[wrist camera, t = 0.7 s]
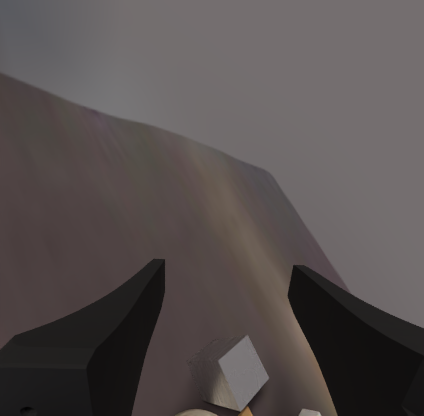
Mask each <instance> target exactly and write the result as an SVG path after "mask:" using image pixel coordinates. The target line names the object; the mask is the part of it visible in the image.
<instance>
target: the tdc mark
mask: <svg viewBox="0 0 424 416" xmlns="http://www.w3.org/2000/svg"><path fill="white" fill-rule="evenodd" d="M238 416H252V413H251V411H250V409H249V407H248V406H246V407H245V408H244V409H243V410H242V411H241V413H240V414H239V415H238Z"/></svg>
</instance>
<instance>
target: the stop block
mask: <svg viewBox="0 0 424 416" xmlns="http://www.w3.org/2000/svg"><path fill="white" fill-rule="evenodd" d="M187 363H188V366H189V368H190V371H191V373H192V376H193V378H194V380H195V383H196V385H197V388H198V390H199V393H200V395H201V398H202V400H203V401H206V402H209V403H212V404H216V405H219V406H223V407H226V408H230V409H233V410H237V411H240V412H241V411H242V410H243V409H244V407H245V406H246V405H247V404H248V403H249V401H250V400H251V399H252V398H253V397H254V395H255V394H256V393H257V392H258V391H259V390H260V388H261V387H262V386H263V385H264V384H265V382H266V381H267V380H268V379H269V377H268V375H267V373H266V371H265V369H264V367H263V365H262V363H261V361H260V359H259V357H258V355H257V353H256V351H255V349H254V347H253V345H252V343H251V341H250V339H249V337H248V335H244V336H237V337H231V338H224V339H217V340H213V341H212V342H210V343H209V344H208V345H206V346H205V347H204V348H203V349H201V350H200V351H199V352H197V353H196V354H195V355H194V356H192V357H191V358H190V359H188V360H187Z"/></svg>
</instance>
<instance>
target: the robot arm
mask: <svg viewBox="0 0 424 416" xmlns="http://www.w3.org/2000/svg"><path fill="white" fill-rule="evenodd" d="M164 293H165V259H153V260H152V261H151V262H149V263H148V264H147V265H146V266H145V267H144V268H143V269H141V270H140V271H139V272H138V273H137V274H135V275H134V276H133V277H132V278H131V279H129V280H128V281H127V282H125V283H124V284H123V285H121V286H120V287H119V288H117V289H116V290H114V291H113V292H111V293H110V294H108V295H106V296H105V297H103V298H101V299H100V300H98V301H96V302H94V303H92V304H90V305H88V306H86V307H85V308H83V309H81V310H79V311H77V312H75V313H72V314H70V315H68V316H66V317H63V318H61V319H59V320H56V321H54V322H51V323H49V324H46V325H43V326H41V327H38V328H35V329H32V330H29V331H26V332H24V333H21V334H18V335H15V336H14V337H13V338H12V339H11V340H10V341H9V342H8V343H7V344H6V345H5V346H4V347H3V348H2V349H1V350H0V416H131V414H132V410H133V405H134V401H135V396H136V392H137V388H138V384H139V379H140V375H141V371H142V367H143V363H144V359H145V355H146V352H147V348H148V346H149V343H150V340H151V337H152V334H153V331H154V328H155V325H156V322H157V319H158V316H159V313H160V310H161V307H162V302H163V298H164ZM288 299H289V302H290V305H291V307H292V310H293V313H294V315H295V317H296V319H297V321H298V323H299V325H300V327H301V329H302V331H303V333H304V335H305V337H306V339H307V341H308V343H309V345H310V347H311V349H312V351H313V353H314V355H315V357H316V360H317V362H318V364H319V367H320V369H321V372H322V374H323V377H324V379H325V382H326V385H327V387H328V390H329V393H330V395H331V398H332V401H333V404H334V406H335V409H336V412H337V415H338V416H424V328H421V327H419V326H416V325H414V324H411V323H409V322H407V321H404V320H402V319H399V318H397V317H395V316H393V315H390V314H388V313H386V312H384V311H382V310H379V309H378V308H376V307H374V306H372V305H370V304H368V303H366V302H364V301H362V300H360V299H359V298H357V297H355V296H353V295H352V294H350V293H348V292H347V291H345V290H343V289H342V288H340V287H338V286H337V285H335V284H334V283H332V282H330V281H329V280H327V279H326V278H324V277H323V276H321V275H320V274H318V273H316V272H315V271H313V270H312V269H310V268H308V267H306V266H304V265H293V270H292V275H291V281H290V286H289V291H288Z"/></svg>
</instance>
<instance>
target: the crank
mask: <svg viewBox="0 0 424 416" xmlns="http://www.w3.org/2000/svg"><path fill="white" fill-rule="evenodd" d="M174 416H218V415H216V414H214V413H211V412H209V411H206V410H202V409H188V410H185V411H182V412H180V413H178V414H176V415H174Z"/></svg>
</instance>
